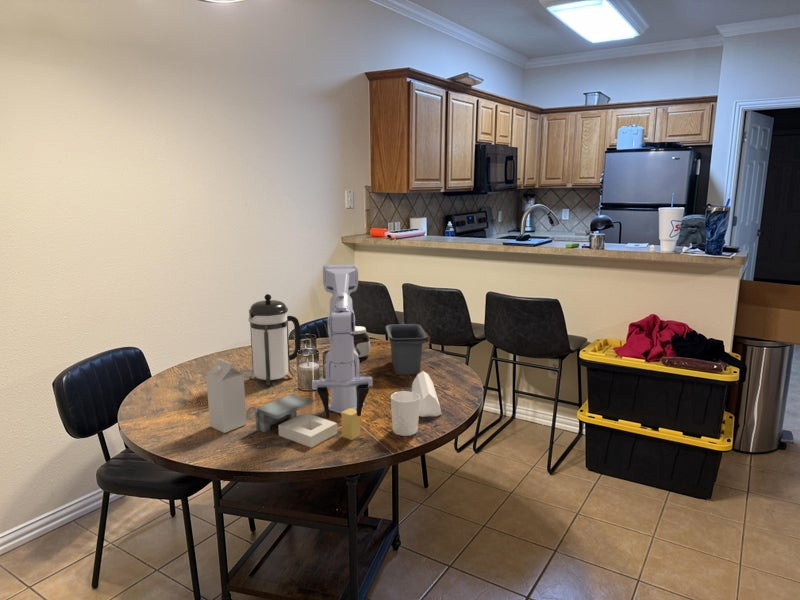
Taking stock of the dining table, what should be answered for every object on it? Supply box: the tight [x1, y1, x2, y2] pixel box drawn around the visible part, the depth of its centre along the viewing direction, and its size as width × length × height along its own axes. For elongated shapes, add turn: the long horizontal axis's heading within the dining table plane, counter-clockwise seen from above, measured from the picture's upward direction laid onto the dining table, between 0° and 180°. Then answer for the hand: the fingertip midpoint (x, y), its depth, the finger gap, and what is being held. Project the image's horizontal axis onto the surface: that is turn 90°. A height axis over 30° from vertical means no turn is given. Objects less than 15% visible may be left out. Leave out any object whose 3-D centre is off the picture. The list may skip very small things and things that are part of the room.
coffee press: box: [248, 293, 302, 387], centre depth 185 cm, size 17×16×30 cm
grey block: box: [254, 393, 313, 433], centre depth 150 cm, size 13×9×7 cm
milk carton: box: [205, 357, 247, 434], centre depth 148 cm, size 7×7×19 cm
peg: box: [340, 408, 361, 441], centre depth 144 cm, size 4×4×7 cm
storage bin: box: [385, 323, 431, 376], centre depth 198 cm, size 21×16×14 cm
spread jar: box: [351, 325, 371, 361], centre depth 209 cm, size 12×11×12 cm
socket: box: [278, 412, 338, 448], centre depth 145 cm, size 10×12×3 cm
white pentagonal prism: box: [411, 370, 442, 418], centre depth 166 cm, size 7×7×24 cm
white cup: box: [390, 390, 420, 437], centre depth 147 cm, size 8×8×10 cm
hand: (343, 416), depth 132 cm, fingers open, 7 cm apart
